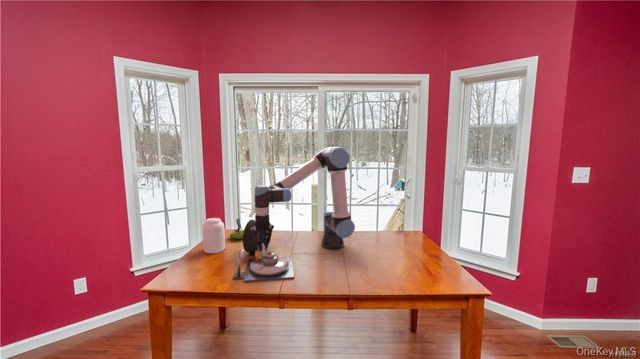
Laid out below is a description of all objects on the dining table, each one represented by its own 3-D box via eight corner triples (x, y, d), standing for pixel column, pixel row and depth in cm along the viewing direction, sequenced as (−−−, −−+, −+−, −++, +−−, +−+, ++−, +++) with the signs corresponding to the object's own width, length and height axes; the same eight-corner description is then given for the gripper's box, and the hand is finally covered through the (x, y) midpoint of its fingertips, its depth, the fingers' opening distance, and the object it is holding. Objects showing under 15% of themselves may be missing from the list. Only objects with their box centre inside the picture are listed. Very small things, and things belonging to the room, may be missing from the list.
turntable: (267, 256, 155) (266, 244, 154) (296, 263, 146) (296, 251, 145) (242, 270, 137) (241, 257, 137) (273, 279, 128) (272, 265, 127)
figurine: (231, 235, 195) (231, 215, 193) (249, 234, 197) (248, 214, 195) (227, 242, 182) (226, 220, 180) (246, 241, 183) (245, 220, 181)
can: (207, 255, 159) (206, 223, 156) (200, 249, 168) (199, 218, 166) (228, 250, 167) (227, 219, 165) (220, 244, 176) (219, 215, 174)
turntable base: (291, 258, 155) (291, 256, 155) (294, 278, 132) (293, 276, 132) (248, 261, 152) (248, 259, 151) (243, 282, 128) (243, 279, 128)
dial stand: (245, 273, 136) (244, 248, 135) (243, 278, 131) (242, 252, 130) (234, 274, 136) (233, 248, 134) (233, 279, 131) (232, 252, 129)
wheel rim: (257, 259, 154) (257, 225, 152) (243, 257, 156) (242, 224, 154) (270, 246, 174) (270, 216, 171) (257, 245, 176) (257, 215, 173)
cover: (269, 258, 147) (268, 249, 146) (281, 261, 143) (280, 252, 143) (259, 264, 140) (259, 254, 139) (271, 267, 136) (271, 257, 136)
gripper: (271, 211, 151) (271, 251, 154) (248, 214, 144) (249, 255, 147) (276, 214, 144) (276, 255, 148) (252, 217, 138) (253, 260, 141)
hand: (263, 255), depth 147 cm, fingers closed
